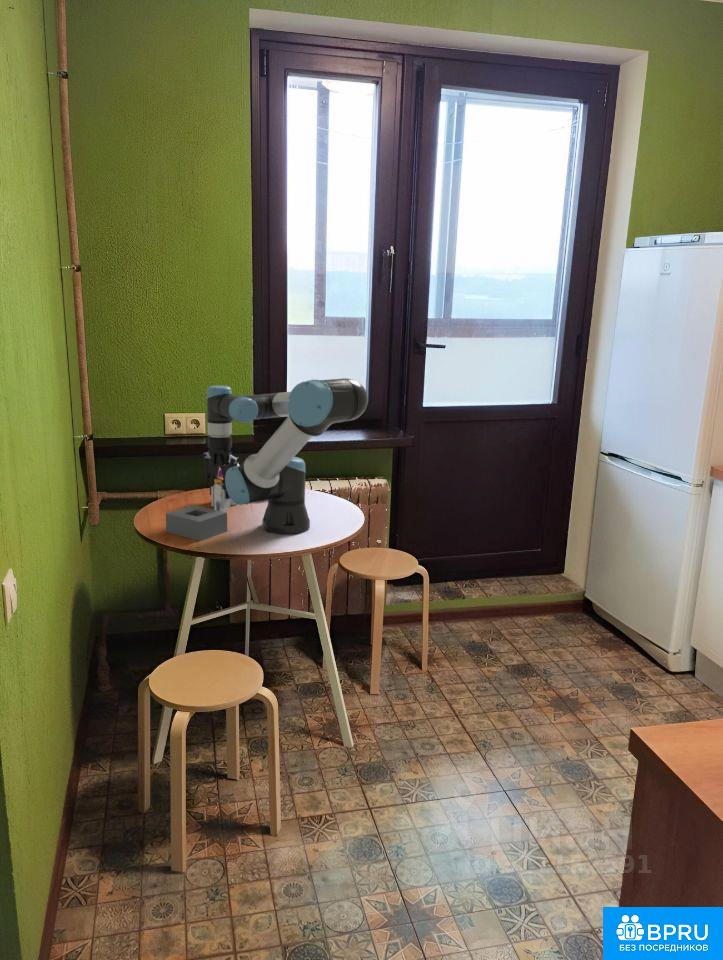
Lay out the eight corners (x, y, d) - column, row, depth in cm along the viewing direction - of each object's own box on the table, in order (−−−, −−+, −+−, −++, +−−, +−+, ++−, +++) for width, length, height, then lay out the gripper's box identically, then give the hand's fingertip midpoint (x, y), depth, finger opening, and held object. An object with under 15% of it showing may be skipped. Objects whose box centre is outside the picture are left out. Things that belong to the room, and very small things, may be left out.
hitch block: (227, 531, 230) (227, 512, 229) (200, 541, 220) (200, 521, 218) (193, 522, 237) (193, 505, 235) (166, 532, 227) (165, 513, 225)
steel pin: (229, 520, 239) (229, 478, 236) (221, 523, 236) (220, 480, 233) (220, 518, 241) (219, 476, 238) (212, 520, 238) (211, 478, 235)
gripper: (248, 436, 231) (248, 508, 237) (207, 430, 239) (208, 500, 245) (232, 440, 225) (233, 514, 230) (191, 433, 233) (192, 505, 239)
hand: (220, 506), depth 238 cm, fingers closed on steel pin, 4 cm apart
